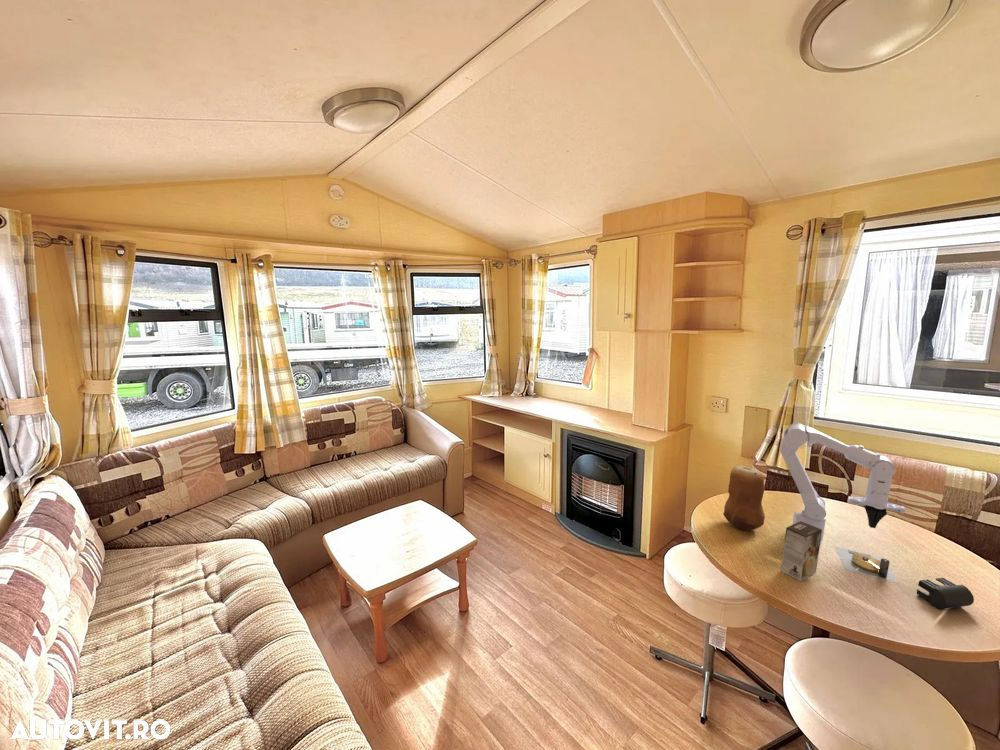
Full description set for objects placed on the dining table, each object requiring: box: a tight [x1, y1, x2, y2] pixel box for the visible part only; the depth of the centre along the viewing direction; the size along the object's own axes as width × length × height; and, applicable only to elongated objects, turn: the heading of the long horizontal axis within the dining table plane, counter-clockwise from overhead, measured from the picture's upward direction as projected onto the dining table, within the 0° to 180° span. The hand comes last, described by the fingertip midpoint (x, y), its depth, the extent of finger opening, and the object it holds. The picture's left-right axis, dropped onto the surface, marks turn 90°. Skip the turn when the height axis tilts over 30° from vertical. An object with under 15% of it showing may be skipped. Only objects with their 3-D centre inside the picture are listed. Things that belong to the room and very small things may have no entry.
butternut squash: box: [722, 465, 766, 531], centre depth 157 cm, size 14×13×25 cm
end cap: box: [916, 577, 975, 610], centre depth 117 cm, size 10×7×7 cm
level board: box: [835, 546, 899, 584], centre depth 135 cm, size 13×15×1 cm
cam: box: [852, 554, 890, 578], centre depth 133 cm, size 10×8×6 cm
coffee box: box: [780, 521, 822, 582], centre depth 131 cm, size 9×6×16 cm
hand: (871, 526), depth 141 cm, fingers closed
